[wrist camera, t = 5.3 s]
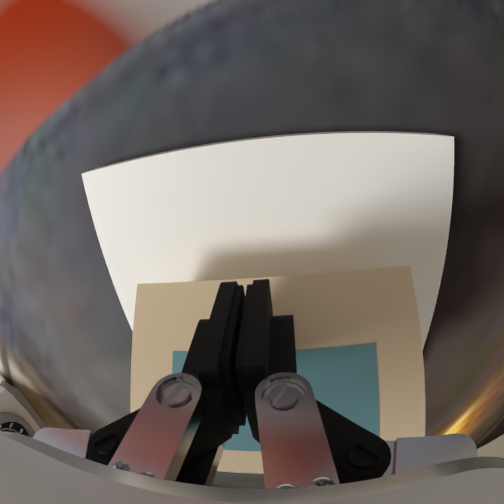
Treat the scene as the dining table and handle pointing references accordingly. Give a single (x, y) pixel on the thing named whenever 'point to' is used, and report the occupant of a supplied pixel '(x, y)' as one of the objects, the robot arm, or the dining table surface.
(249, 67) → the dining table surface
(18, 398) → the alarm clock
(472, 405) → the dining table surface
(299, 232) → the display podium
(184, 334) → the carton
